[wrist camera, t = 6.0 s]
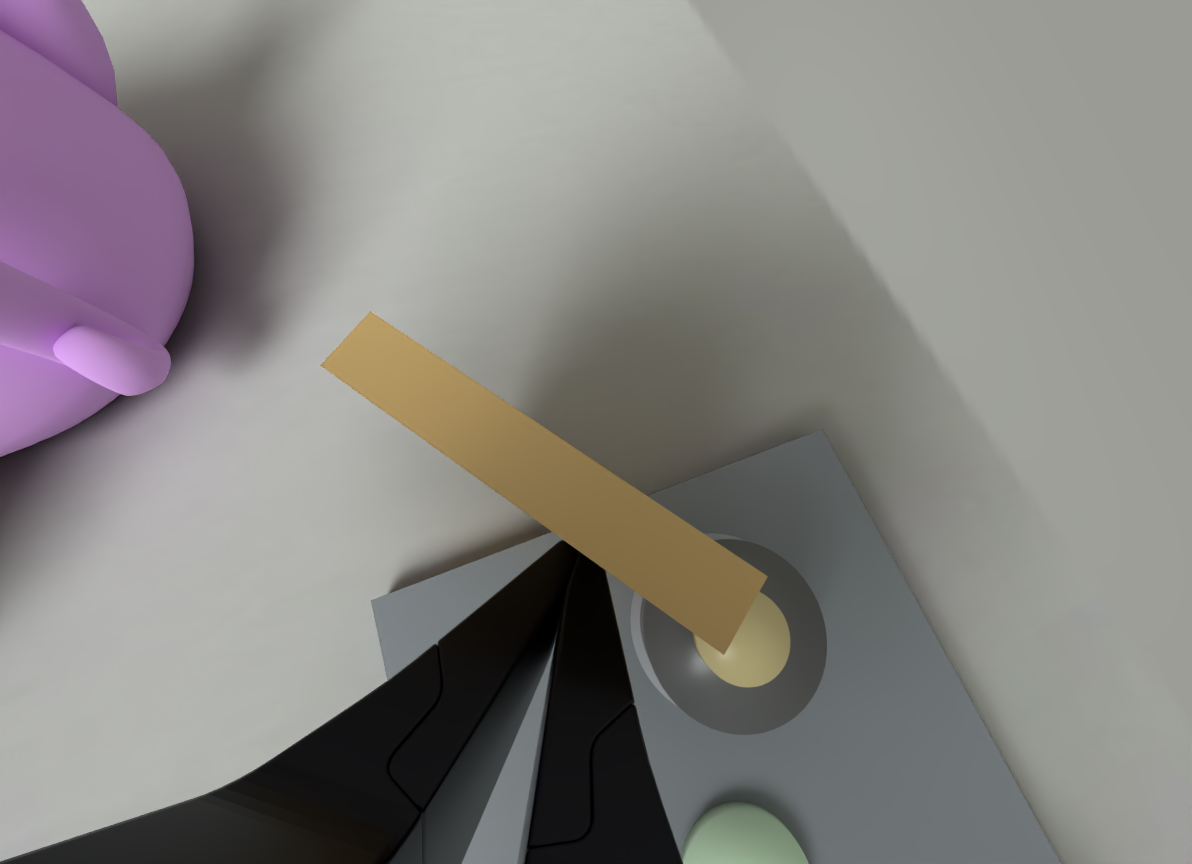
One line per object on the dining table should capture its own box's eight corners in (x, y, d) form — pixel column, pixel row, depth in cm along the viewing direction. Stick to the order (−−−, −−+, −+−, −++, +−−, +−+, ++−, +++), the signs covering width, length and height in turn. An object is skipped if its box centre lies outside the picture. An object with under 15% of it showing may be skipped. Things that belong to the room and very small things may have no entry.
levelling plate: (1176, 1116, 12) (1308, 1245, 10) (570, 1447, 10) (559, 1683, 8) (810, 436, 17) (840, 417, 15) (385, 598, 16) (349, 603, 14)
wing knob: (824, 601, 14) (1151, 657, 6) (748, 748, 13) (1011, 1094, 5) (529, 405, 17) (442, 232, 8) (443, 517, 15) (232, 459, 7)
